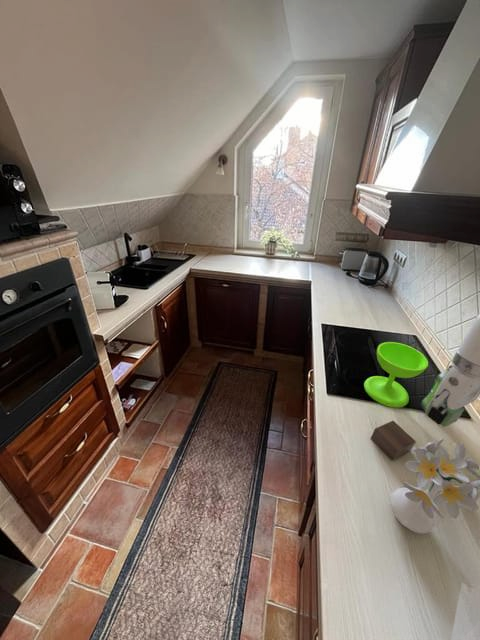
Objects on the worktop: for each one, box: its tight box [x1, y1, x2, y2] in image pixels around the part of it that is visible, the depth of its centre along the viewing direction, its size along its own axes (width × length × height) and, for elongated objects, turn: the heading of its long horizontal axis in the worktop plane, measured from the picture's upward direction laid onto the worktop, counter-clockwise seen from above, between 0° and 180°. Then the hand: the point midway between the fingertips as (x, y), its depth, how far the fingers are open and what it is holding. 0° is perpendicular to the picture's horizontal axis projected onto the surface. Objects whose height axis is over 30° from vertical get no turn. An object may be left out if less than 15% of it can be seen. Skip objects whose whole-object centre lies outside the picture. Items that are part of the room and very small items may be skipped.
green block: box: [424, 398, 466, 428], centre depth 66 cm, size 5×5×5 cm
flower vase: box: [389, 437, 480, 535], centre depth 56 cm, size 13×18×25 cm
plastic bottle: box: [420, 365, 453, 412], centre depth 87 cm, size 6×7×20 cm
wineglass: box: [363, 341, 429, 409], centre depth 95 cm, size 16×16×18 cm
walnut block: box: [370, 420, 417, 462], centre depth 79 cm, size 8×8×5 cm
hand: (441, 416), depth 67 cm, fingers closed on green block, 5 cm apart
